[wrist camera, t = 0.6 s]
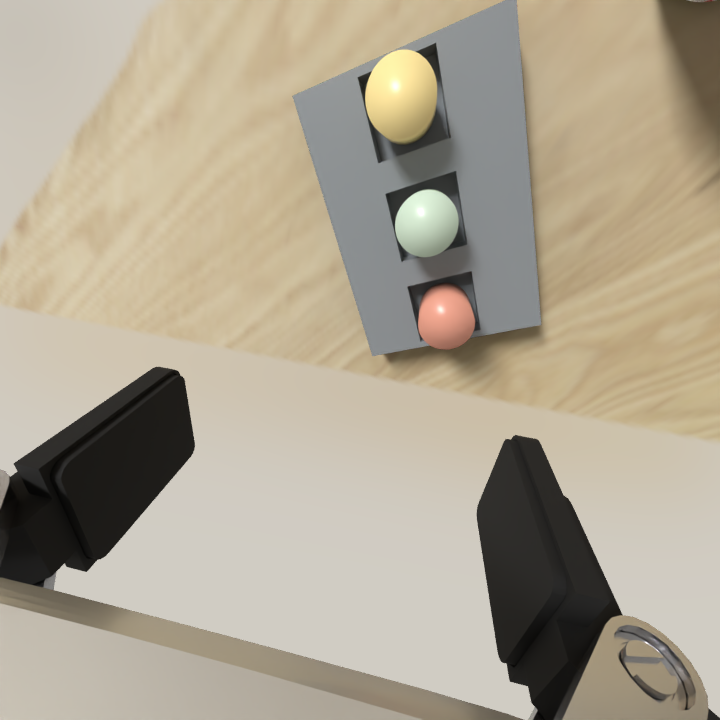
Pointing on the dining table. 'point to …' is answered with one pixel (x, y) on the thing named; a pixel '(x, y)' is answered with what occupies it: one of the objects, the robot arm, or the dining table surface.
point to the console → (434, 183)
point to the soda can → (701, 0)
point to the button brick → (445, 316)
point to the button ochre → (402, 96)
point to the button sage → (426, 223)
